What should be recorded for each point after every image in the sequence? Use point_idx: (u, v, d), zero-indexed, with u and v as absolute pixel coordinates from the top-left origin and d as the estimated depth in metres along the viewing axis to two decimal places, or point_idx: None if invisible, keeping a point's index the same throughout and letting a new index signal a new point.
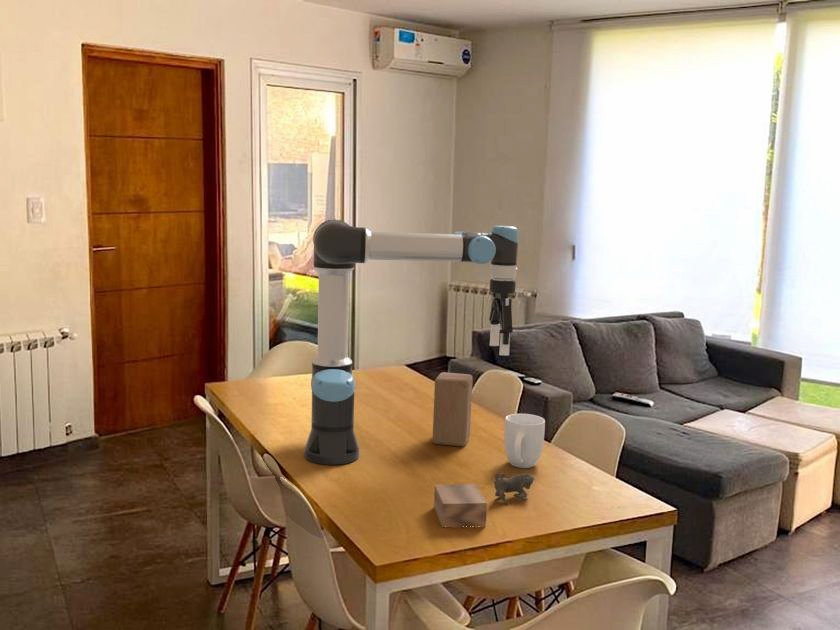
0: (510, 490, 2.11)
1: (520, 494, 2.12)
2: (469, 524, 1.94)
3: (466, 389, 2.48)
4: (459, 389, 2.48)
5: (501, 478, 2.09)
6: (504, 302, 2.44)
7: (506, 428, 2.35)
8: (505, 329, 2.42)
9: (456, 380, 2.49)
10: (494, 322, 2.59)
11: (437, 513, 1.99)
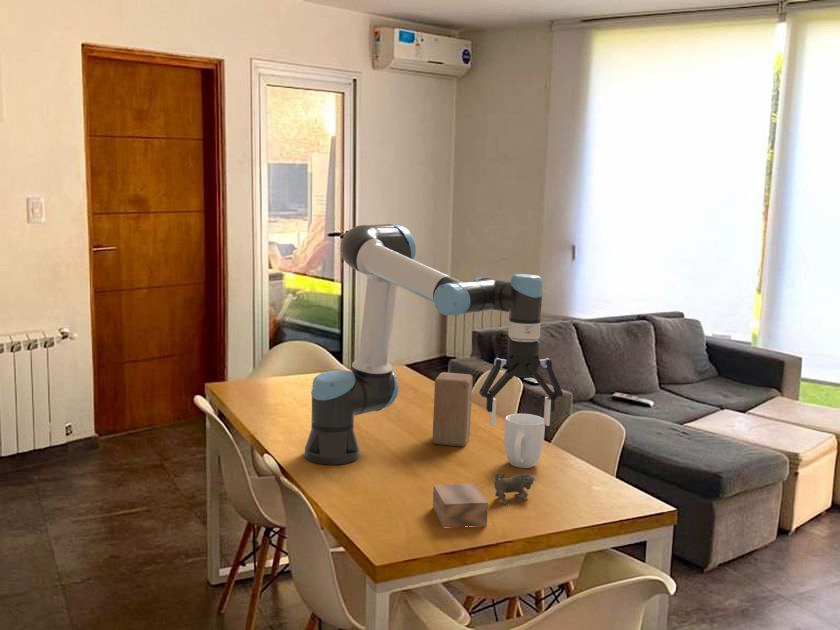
0: (510, 490, 2.11)
1: (521, 494, 2.12)
2: (471, 523, 1.94)
3: (466, 389, 2.48)
4: (459, 389, 2.48)
5: (501, 478, 2.09)
6: (494, 362, 2.07)
7: (506, 428, 2.35)
8: (480, 391, 2.07)
9: (456, 380, 2.49)
10: (549, 395, 2.09)
11: (437, 513, 1.99)
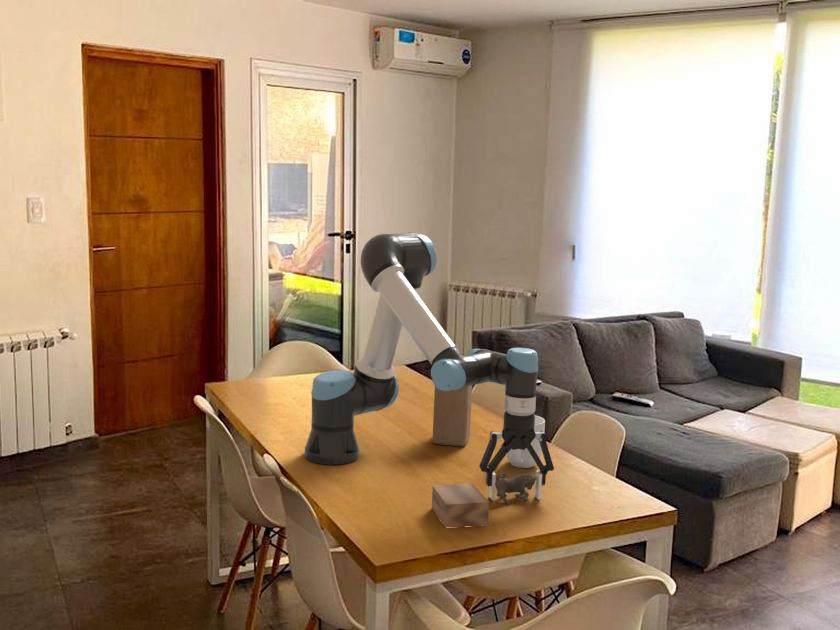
0: (511, 490, 2.11)
1: (522, 495, 2.11)
2: (472, 523, 1.94)
3: (466, 389, 2.48)
4: (459, 389, 2.48)
5: (502, 478, 2.09)
6: (490, 436, 2.10)
7: None
8: (480, 465, 2.10)
9: None
10: (540, 469, 2.12)
11: (437, 514, 1.99)
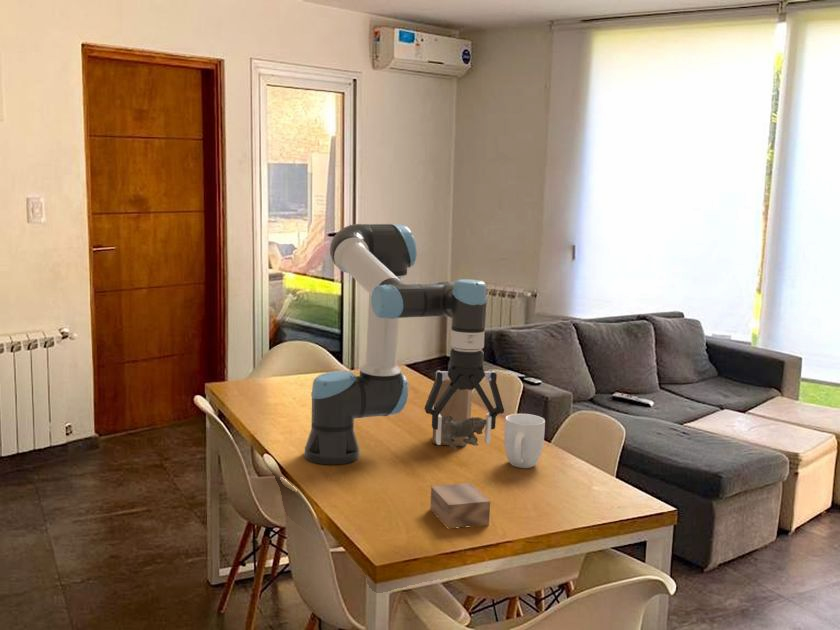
0: (459, 434, 1.95)
1: (470, 439, 1.96)
2: (474, 523, 1.94)
3: (466, 389, 2.48)
4: None
5: (449, 421, 1.94)
6: (435, 375, 1.94)
7: (506, 428, 2.35)
8: (425, 407, 1.95)
9: None
10: (490, 412, 1.96)
11: (437, 515, 1.98)
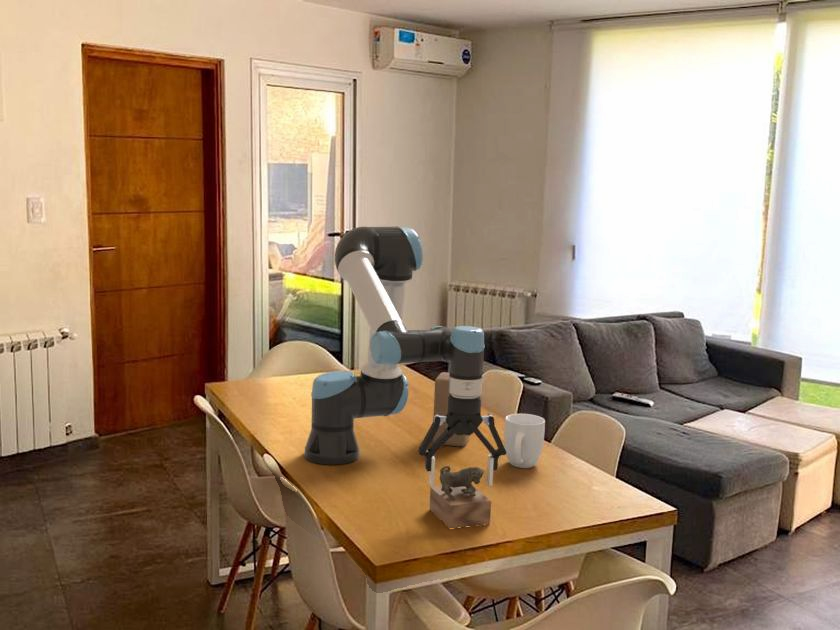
0: (457, 485, 1.97)
1: (468, 489, 1.98)
2: (475, 523, 1.94)
3: None
4: None
5: (447, 472, 1.96)
6: (433, 418, 1.95)
7: (506, 428, 2.35)
8: (418, 449, 1.96)
9: None
10: None
11: (438, 515, 1.98)
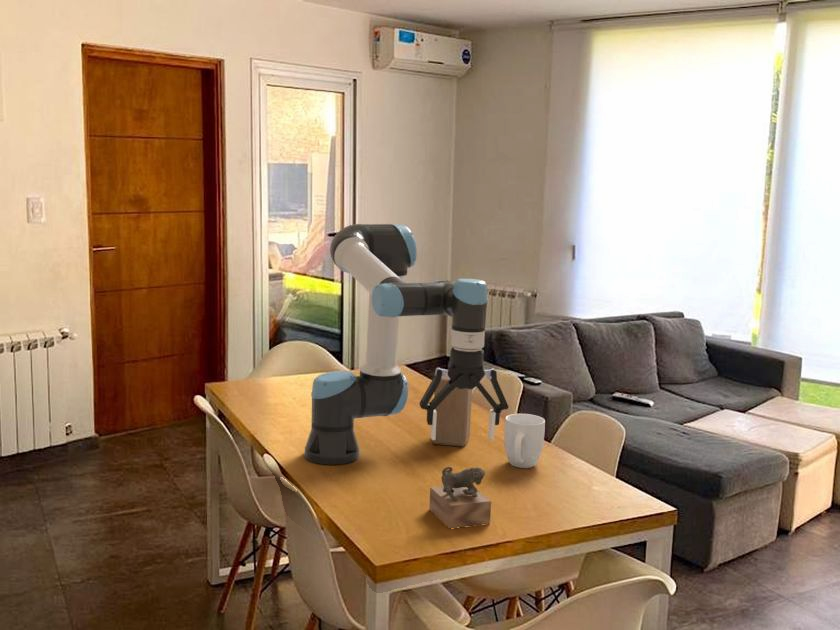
0: (459, 485, 1.97)
1: (470, 490, 1.98)
2: (475, 523, 1.94)
3: (466, 389, 2.48)
4: (459, 389, 2.48)
5: (449, 472, 1.95)
6: (435, 372, 1.94)
7: (506, 428, 2.35)
8: (420, 402, 1.95)
9: None
10: (494, 408, 1.97)
11: (438, 515, 1.98)
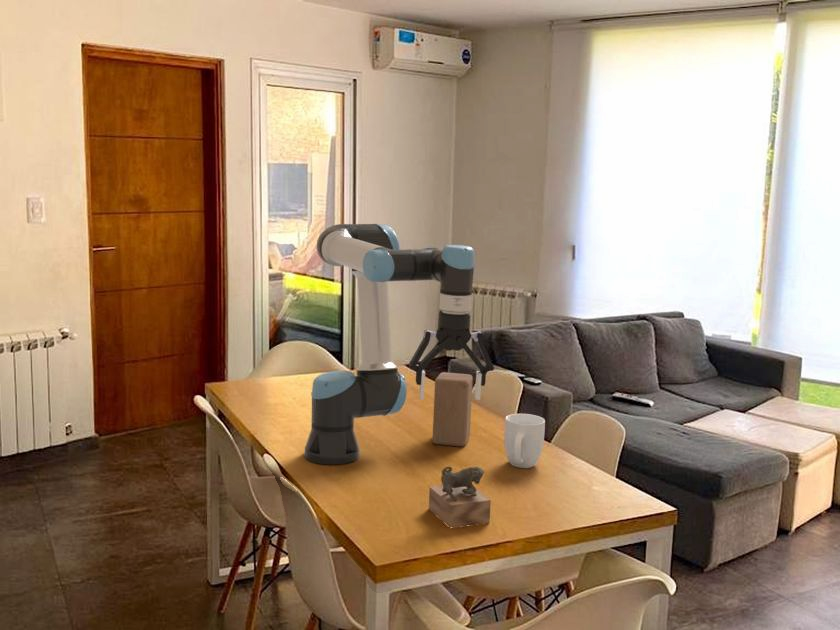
0: (458, 485, 1.97)
1: (469, 489, 1.98)
2: (475, 522, 1.95)
3: (466, 389, 2.48)
4: (459, 389, 2.48)
5: (448, 472, 1.96)
6: (424, 334, 2.03)
7: (506, 428, 2.35)
8: (409, 363, 2.04)
9: (456, 380, 2.49)
10: (480, 369, 2.05)
11: (437, 515, 1.99)
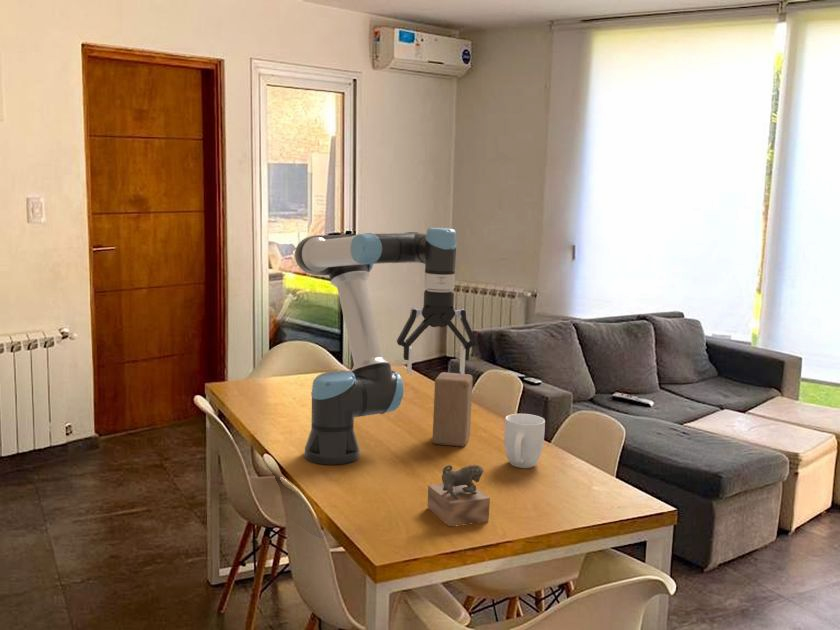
0: (458, 483, 1.98)
1: (469, 488, 1.99)
2: (474, 520, 1.96)
3: (466, 389, 2.48)
4: (459, 389, 2.48)
5: (449, 471, 1.96)
6: (410, 312, 2.15)
7: (506, 428, 2.35)
8: (397, 340, 2.16)
9: (456, 380, 2.49)
10: (464, 345, 2.18)
11: (436, 513, 1.99)
